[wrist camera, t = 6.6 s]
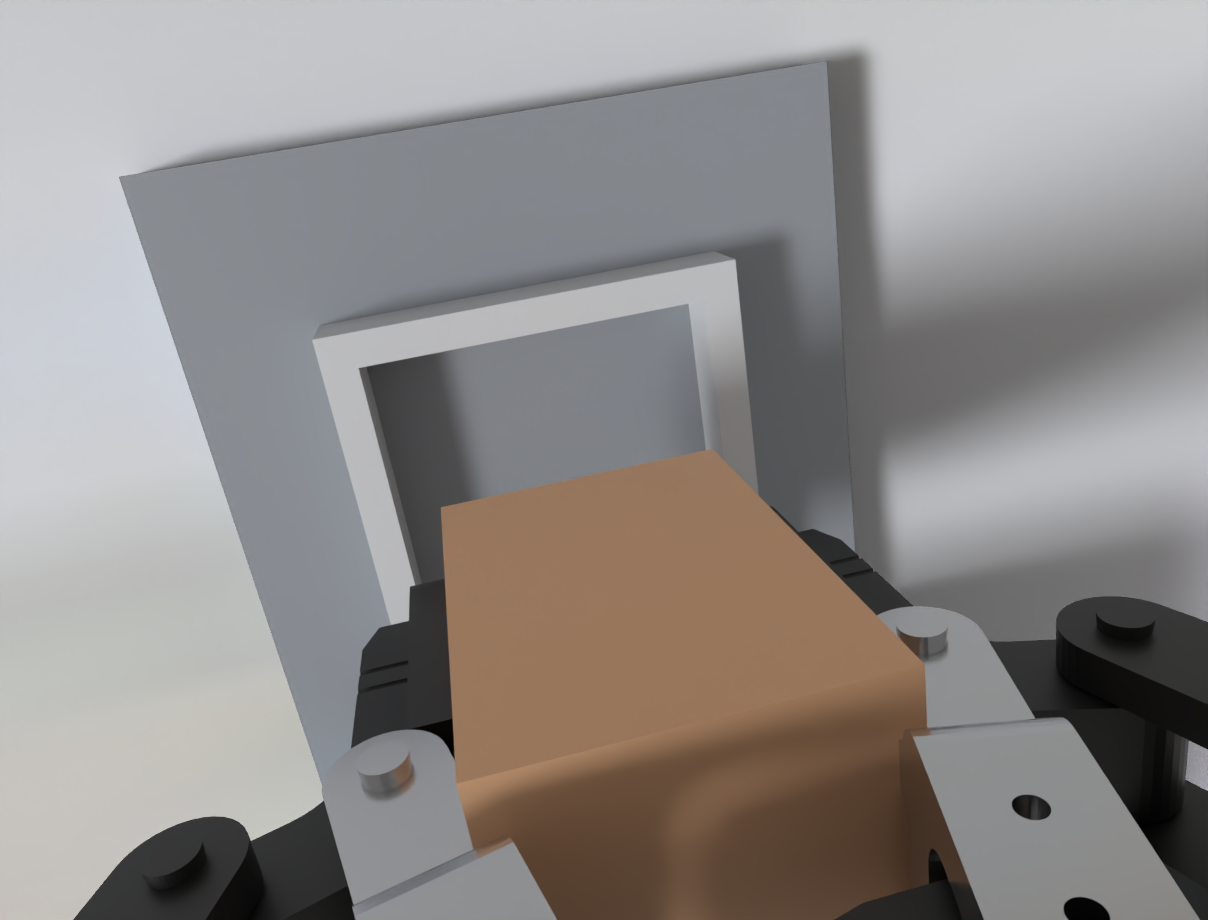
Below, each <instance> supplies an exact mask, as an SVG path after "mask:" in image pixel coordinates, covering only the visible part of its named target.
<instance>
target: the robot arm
mask: <svg viewBox="0 0 1208 920" xmlns="http://www.w3.org/2000/svg"><path fill="white" fill-rule="evenodd" d="M769 507H770V508H771V509H772V510H773V511H774V512H775V513H776V514H777V515H778V516H779V517H780V518H781V519H782V520H783V521H784V522H785V523H786V524H787V525H788V526H789V527H790V528H791V529H792V530H793V531H794V532H795V533H796V534H797V535H798V536H799V537H800V538H801V539H802V540H803V541H804V542H805V543H806V544H807V545H808V546H809V547H810V548H811V549H812V550H813V551H814V552H815V553H816V554H817V555H818V556H819V557H820V558H821V559H822V561H823V562H824V563H825V564H826V565H827V566H828V567H829V568H830V569H831V570H832V571H833V572H834V573H835V574H836V575H837V576H838V577H839V578H840V579H841V580H842V581H843V582H844V583H845V584H846V585H847V586H848V587H849V588H850V589H851V590H852V591H853V592H854V593H855V594H856V595H857V596H858V597H859V598H860V599H861V600H862V601H863V602H864V603H865V604H866V605H867V606H868V607H869V608H870V609H871V610H872V611H873V612H874V613H875V614H876V615H877V616H878V617H879V618H880V619H881V620H882V621H883V622H884V623H885V624H886V625H887V626H888V627H889V629H890V630H891V631H892V632H893V633H894V634H895V635H896V636H897V637H898V638H899V639H900V640H901V641H902V642H903V643H904V644H905V645H906V646H907V647H908V648H909V649H910V650H911V651H912V652H913V653H914V654H915V655H916V656H917V657H918V658H919V659H920V660H921V661H922V662H923V663H924V664H925V678H926V706H927V727H926V728H914V729H906V730H904V733H903V738H902V739H901V740H898V742H899V763H900V784H901V789H902V793H903V798H904V804H905V810H906V817H907V828H908V849H909V871H910V889H909V890H906V891H902V892H899V893H895V894H892V895H888V896H885V897H881V898H878V899H874V900H871V901H867V902H864V903H862V904H860V905H858V906H856V907H855V908H853V909H851V910H850V911H848V912H846V913H844V914H843V915H841V916H839V917H838V918H836V919H834V920H1208V791H1206V790H1204V789H1202V788H1200V787H1198V786H1197V785H1195V784H1193V783H1191V782H1189V781H1187V780H1185V777H1186V766H1187V754H1188V742H1189V741H1192V742H1194V743H1196V744H1198V745H1200V746H1202V747H1204V748H1206V749H1208V622H1206V621H1203V620H1200V619H1198V618H1195V617H1192V616H1189V615H1187V614H1184V613H1181V612H1178V611H1176V610H1173V609H1170V608H1167V607H1165V606H1162V605H1159V604H1156V603H1153V602H1149V601H1145V600H1140V599H1134V598H1128V597H1093V598H1088V599H1083V600H1080V601H1076V602H1074V603H1072V604H1070V605H1068V606H1066V607H1065V608H1063V609H1062V610H1061V612H1060V613H1059V614H1058V617H1057V624H1056V640H1037V641H1014V642H993V641H988V639H987V637H986V636H985V634H984V632H983V631H982V629H981V628H980V627H979V626H978V625H977V624H976V623H975V622H974V621H972V620H971V619H969V618H967V617H966V616H964V615H961V614H959V613H956V612H953V611H950V610H946V609H942V608H936V607H927V606H913V605H912V604H910V603H909V602H908V601H907V600H906V599H905V598H904V597H903V596H902V595H901V594H900V593H898V592H897V591H896V590H895V589H894V588H893V587H892V586H891V585H890V584H889V583H888V582H887V581H885V580H884V579H883V578H882V577H881V576H880V575H879V574H878V573H877V572H873V570H872V568H871V567H870V566H869V565H868V564H867V563H866V562H865V561H864V560H863V559H859V557H858V555H857V554H856V553H855V552H854V551H853V550H852V549H851V548H850V547H849V546H847V545H846V544H845V543H844V542H843V541H842V540H841V539H838V538H836V537H833V536H831V535H828V534H825V533H823V532H820V531H818V530H815V529H810V530H805V531H801V532H798V531H797V530H796V529H795V528H794V527H793V526H792V525H791V524H790V523H789V522H788V521H787V520H786V519H785V518H784V517H783V516H782V515H781V514H780V513H779V512H778V511H777V510H776V509H775V508H774V507H773V506H769ZM360 675H361V676H359V683H358V694H357V700H356V709H355V717H354V726H353V735H352V743H351V749H350V750H349V751H347V752H346V753H345V754H343V755H342V756H341V757H340V758H339V759H338V760H337V761H336V762H335V763H334V764H333V765H332V767H331V768H330V769H329V771H328V773H327V774H326V776H325V779H324V781H323V786H322V794H323V799H324V801H323V802H322V803H320V804H319V805H318V806H317V807H315V808H314V809H313V810H311V811H309V812H308V813H306V814H305V815H303V816H302V817H300V818H298V819H296V820H294V821H292V822H290V823H288V824H286V825H284V826H282V827H280V828H278V829H276V830H274V831H272V832H269V833H267V834H265V835H263V836H261V837H259V838H257V839H255V840H253V841H250V838H249V835H248V833H247V831H246V829H245V827H244V826H243V825H241V824H240V823H239V822H237V821H235V820H233V819H230V818H226V817H203V818H198V819H193V820H190V821H186V822H183V823H180V824H178V825H175V826H173V827H170V828H168V829H166V830H164V831H162V832H160V833H158V834H156V835H155V836H153V837H151V838H150V839H148V840H147V841H145V842H143V843H142V844H141V845H139V846H138V847H137V848H135V849H134V850H133V851H132V852H131V853H130V854H128V855H127V856H126V857H125V858H124V859H123V860H122V861H121V862H120V863H119V864H118V866H117V867H116V868H115V869H114V870H113V871H112V873H111V874H110V875H109V876H108V878H107V879H106V880H105V881H104V882H103V884H102V885H101V886H100V887H99V889H98V890H97V891H96V892H95V894H94V895H93V896H92V897H91V899H90V900H89V901H88V902H87V903H86V905H85V906H84V907H83V908H82V910H81V911H80V912H79V913H78V915H77V916H76V917H75V918H74V920H557V919H556V917H555V915H554V913H553V912H552V910H551V908H550V906H549V904H548V903H547V901H546V899H545V897H544V895H543V894H542V892H541V890H540V888H539V887H538V885H537V883H536V881H535V879H534V878H533V876H532V874H531V872H530V870H529V869H528V867H527V865H526V863H525V862H524V860H523V858H522V856H521V854H520V853H519V851H518V849H517V847H516V846H515V844H514V842H513V841H512V839H511V838H510V837H509V836H508V835H506V834H505V835H503V836H501V837H499V838H497V839H494V840H492V841H490V842H488V843H486V844H484V845H481V846H479V847H477V848H475V849H473V846H472V842H471V838H470V835H469V831H468V827H467V823H466V819H465V815H464V812H463V808H462V804H461V800H460V796H459V792H458V789H457V785H456V770H455V752H454V734H453V717H452V699H451V681H450V663H449V645H448V627H447V610H446V592H445V579H441V580H436V581H432V582H427V583H423V584H419V585H414V586H410V595H409V621H406V622H402V623H397V624H393V625H388V626H384V627H380V628H379V629H378V630H377V631H376V633H375V634H374V635H373V637H372V638H371V639H370V641H369V642H368V643H367V644H366V646H365V647H364V648H363V650H362V657H361V666H360Z"/></svg>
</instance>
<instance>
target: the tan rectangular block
mask: <svg viewBox="0 0 1208 920" xmlns="http://www.w3.org/2000/svg"><path fill="white" fill-rule="evenodd" d="M441 520H442V538H443V556H444V574H445V592H446V610H447V627H448V645H449V663H450V681H451V699H452V717H453V734H454V752H455V770H456V785H457V789H458V792H459V796H460V800H461V804H462V808H463V812H464V815H465V819H466V823H467V827H468V831H469V835H470V838H471V842H472V846H473V849H475V848H477V847H479V846H481V845H484V844H486V843H488V842H490V841H492V840H494V839H497V838H499V837H501V836H503V835H505V834H506V835H508V836H509V837H510V838H511V839H512V841H513V842H514V844H515V846H516V847H517V849H518V851H519V853H520V854H521V856H522V858H523V860H524V862H525V863H526V865H527V867H528V869H529V870H530V872H531V874H532V876H533V878H534V879H535V881H536V883H537V885H538V887H539V888H540V890H541V892H542V894H543V895H544V897H545V899H546V901H547V903H548V904H549V906H550V908H551V910H552V912H553V913H554V915H555V917H556V919H557V920H834V919H836V918H838V917H839V916H841V915H843V914H844V913H846V912H848V911H850V910H851V909H853V908H855V907H856V906H858V905H860V904H862V903H864V902H867V901H871V900H874V899H878V898H881V897H885V896H888V895H892V894H895V893H899V892H902V891H906V890H909V889H910V871H909V849H908V828H907V817H906V810H905V804H904V798H903V793H902V789H901V784H900V763H899V742H898V740H901V739H902V738H903V733H904V730H906V729H914V728H926V727H927V706H926V678H925V664H924V663H923V662H922V661H921V660H920V659H919V658H918V657H917V656H916V655H915V654H914V653H913V652H912V651H911V650H910V649H909V648H908V647H907V646H906V645H905V644H904V643H903V642H902V641H901V640H900V639H899V638H898V637H897V636H896V635H895V634H894V633H893V632H892V631H891V630H890V629H889V627H888V626H887V625H886V624H885V623H884V622H883V621H882V620H881V619H880V618H879V617H878V616H877V615H876V614H875V613H874V612H873V611H872V610H871V609H870V608H869V607H868V606H867V605H866V604H865V603H864V602H863V601H862V600H861V599H860V598H859V597H858V596H857V595H856V594H855V593H854V592H853V591H852V590H851V589H850V588H849V587H848V586H847V585H846V584H845V583H844V582H843V581H842V580H841V579H840V578H839V577H838V576H837V575H836V574H835V573H834V572H833V571H832V570H831V569H830V568H829V567H828V566H827V565H826V564H825V563H824V562H823V561H822V559H821V558H820V557H819V556H818V555H817V554H816V553H815V552H814V551H813V550H812V549H811V548H810V547H809V546H808V545H807V544H806V543H805V542H804V541H803V540H802V539H801V538H800V537H799V536H798V535H797V534H796V533H795V532H794V531H793V530H792V529H791V528H790V527H789V526H788V525H787V524H786V523H785V522H784V521H783V520H782V519H781V518H780V517H779V516H778V515H777V514H776V513H775V512H774V511H773V510H772V509H771V508H770V507H769V506H768V505H767V504H766V503H765V502H764V501H763V500H762V499H761V498H760V497H759V496H758V495H757V494H756V493H755V492H754V490H753V489H752V488H751V487H750V486H749V485H748V484H747V483H746V482H745V481H744V480H743V479H742V478H741V477H740V476H739V475H738V474H737V473H736V472H735V471H734V470H733V469H732V468H731V467H730V466H729V465H728V464H727V463H726V462H725V461H724V460H723V459H722V458H721V457H720V456H719V455H718V454H717V453H716V452H715V451H714V450H713V449H709V450H705V451H700V452H695V453H691V454H686V455H681V456H677V457H672V458H668V459H663V460H658V461H654V462H649V463H644V464H640V465H635V466H630V467H626V468H621V469H616V470H612V471H607V472H603V473H598V474H593V475H589V476H584V477H579V478H575V479H570V480H565V481H561V482H556V483H551V484H547V485H542V486H538V487H533V488H528V489H524V490H519V491H514V492H510V493H505V494H500V495H496V496H491V497H487V498H482V499H477V500H473V501H468V502H463V503H459V504H454V505H449V506H445V507H441Z"/></svg>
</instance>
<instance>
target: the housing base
mask: <svg viewBox="0 0 1208 920" xmlns="http://www.w3.org/2000/svg"><path fill="white" fill-rule="evenodd" d="M119 179H120V182H121V185H122V188H123V191H124V194H125V197H126V200H127V203H128V206H129V209H130V212H131V214H132V217H133V220H134V223H135V226H136V229H137V232H138V235H139V238H140V241H141V244H142V247H143V250H144V253H145V256H146V259H147V262H148V265H149V268H150V271H151V274H152V277H153V280H154V283H155V286H156V289H157V292H158V295H159V298H160V301H161V304H162V307H163V310H164V313H165V316H166V319H167V322H168V325H169V328H170V331H171V334H172V337H173V340H174V343H175V346H176V349H177V352H178V355H179V358H180V361H181V364H182V367H183V370H184V373H185V376H186V379H187V382H188V385H189V388H190V391H191V394H192V397H193V400H194V403H195V406H196V409H197V412H198V415H199V418H200V421H201V424H202V427H203V430H204V433H205V436H206V439H207V442H208V445H209V448H210V451H211V454H212V457H213V460H214V463H215V466H216V469H217V472H218V475H219V478H220V481H221V484H222V487H223V490H224V493H225V496H226V499H227V502H228V505H229V508H230V511H231V514H232V517H233V520H234V523H235V526H236V529H237V532H238V535H239V538H240V541H241V544H242V547H243V550H244V553H245V556H246V559H247V562H248V565H249V568H250V571H251V574H252V577H253V580H254V583H255V586H256V589H257V592H258V595H259V598H260V601H261V604H262V607H263V610H264V613H265V616H266V619H267V622H268V625H269V627H270V630H271V633H272V636H273V639H274V642H275V645H276V648H277V651H278V654H279V657H280V660H281V663H282V666H283V669H284V672H285V675H286V678H287V681H288V684H289V687H290V690H291V693H292V696H293V699H294V702H295V705H296V708H297V711H298V714H299V717H300V720H301V723H302V726H303V729H304V732H305V735H306V738H307V741H308V744H309V747H310V750H311V753H312V756H313V759H314V762H315V765H316V768H317V771H318V774H319V777H320V780H321V783H322V786H323V781H324V779H325V776H326V774H327V773H328V771H329V769H330V768H331V767H332V765H333V764H334V763H335V762H336V761H337V760H338V759H339V758H340V757H341V756H342V755H343V754H345V753H346V752H347V751H349V750H350V749H351V743H352V735H353V726H354V717H355V709H356V700H357V694H358V683H359V676H361V675H360V666H361V657H362V650H363V648H364V647H365V646H366V644H367V643H368V642H369V641H370V639H371V638H372V637H373V635H374V634H375V633H376V631H377V630H378V629H379V628H380V627H384V626H388V625H393V624H397V623H402V622H406V621H409V595H410V586H414V585H419V584H423V583H427V582H432V581H436V580H441V579H445V574H444V556H443V538H442V520H441V507H445V506H449V505H454V504H459V503H463V502H468V501H473V500H477V499H482V498H487V497H491V496H496V495H500V494H505V493H510V492H514V491H519V490H524V489H528V488H533V487H538V486H542V485H547V484H551V483H556V482H561V481H565V480H570V479H575V478H579V477H584V476H589V475H593V474H598V473H603V472H607V471H612V470H616V469H621V468H626V467H630V466H635V465H640V464H644V463H649V462H654V461H658V460H663V459H668V458H672V457H677V456H681V455H686V454H691V453H695V452H700V451H705V450H709V449H713V450H714V451H715V452H716V453H717V454H718V455H719V456H720V457H721V458H722V459H723V460H724V461H725V462H726V463H727V464H728V465H729V466H730V467H731V468H732V469H733V470H734V471H735V472H736V473H737V474H738V475H739V476H740V477H741V478H742V479H743V480H744V481H745V482H746V483H747V484H748V485H749V486H750V487H751V488H752V489H753V490H754V492H755V493H756V494H757V495H758V496H759V497H760V498H761V499H762V500H763V501H764V502H765V503H766V504H767V505H768V506H773V507H774V508H775V509H776V510H777V511H778V512H779V513H780V514H781V515H782V516H783V517H784V518H785V519H786V520H787V521H788V522H789V523H790V524H791V525H792V526H793V527H794V528H795V529H796V530H797V531H798V532H801V531H805V530H810V529H815V530H818V531H820V532H823V533H825V534H828V535H831V536H833V537H836V538H838V539H841V540H842V541H843V542H844V543H845V544H846V545H847V546H849V547H850V548H851V549H852V550H853V551H854V552H855V543H854V525H853V508H852V491H851V473H850V456H849V439H848V421H847V404H846V387H845V369H844V352H843V335H842V317H841V300H840V283H839V265H838V248H837V231H836V213H835V196H834V179H833V161H832V144H831V127H830V109H829V92H828V75H827V61H824V62H818V63H812V64H806V65H800V66H794V67H787V68H781V69H775V70H769V71H763V72H757V73H751V74H745V75H739V76H732V77H726V78H720V79H714V80H708V81H702V82H696V83H690V84H684V85H677V86H671V87H665V88H659V89H653V90H647V91H641V92H635V93H628V94H622V95H616V96H610V97H604V98H598V99H592V100H586V101H580V102H573V103H567V104H561V105H555V106H549V107H543V108H537V109H531V110H525V111H518V112H512V113H506V114H500V115H494V116H488V117H482V118H476V119H470V120H463V121H457V122H451V123H445V124H439V125H433V126H427V127H421V128H415V129H408V130H402V131H396V132H390V133H384V134H378V135H372V136H366V137H359V138H353V139H347V140H341V141H335V142H329V143H323V144H317V145H311V146H304V147H298V148H292V149H286V150H280V151H274V152H268V153H262V154H256V155H249V156H243V157H237V158H231V159H225V160H219V161H213V162H207V163H201V164H194V165H188V166H182V167H176V168H170V169H164V170H158V171H152V172H146V173H139V174H133V175H127V176H121V177H119Z"/></svg>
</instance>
